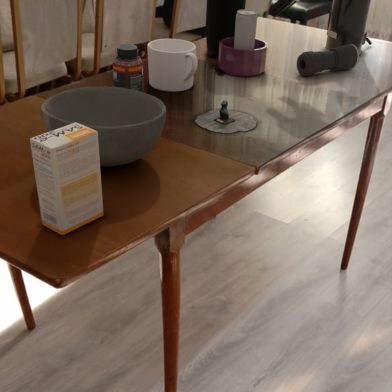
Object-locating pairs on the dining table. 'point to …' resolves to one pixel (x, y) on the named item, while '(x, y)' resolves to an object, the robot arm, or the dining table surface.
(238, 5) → the portable speaker
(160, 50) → the mug
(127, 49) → the supplement bottle
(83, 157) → the supplement box
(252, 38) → the beverage can
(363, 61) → the dining table surface
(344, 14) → the robot arm
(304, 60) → the flashlight
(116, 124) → the bowl
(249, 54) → the plum bowl
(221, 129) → the sculpture
